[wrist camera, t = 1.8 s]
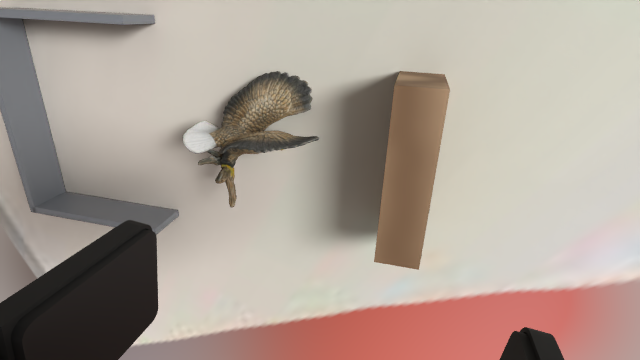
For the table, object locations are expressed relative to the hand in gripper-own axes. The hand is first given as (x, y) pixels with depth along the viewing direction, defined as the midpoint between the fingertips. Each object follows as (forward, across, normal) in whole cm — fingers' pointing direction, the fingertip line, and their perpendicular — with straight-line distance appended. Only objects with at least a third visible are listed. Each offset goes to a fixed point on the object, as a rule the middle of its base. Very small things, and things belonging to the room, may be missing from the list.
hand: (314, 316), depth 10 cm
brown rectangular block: (+21, -2, +2) cm, 21 cm away
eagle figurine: (+21, +9, +2) cm, 23 cm away
